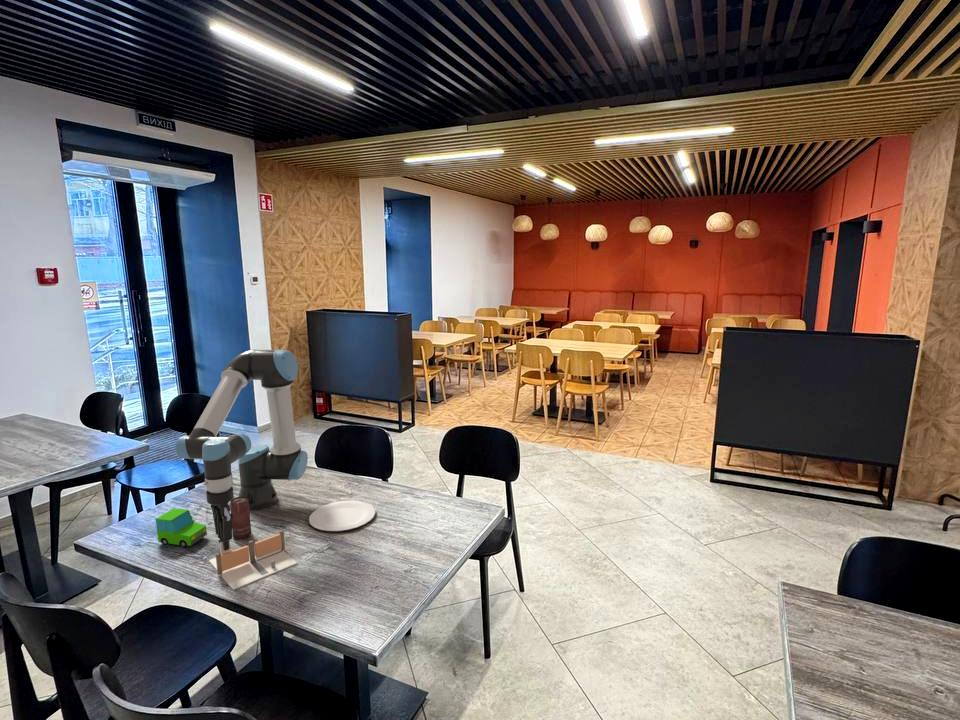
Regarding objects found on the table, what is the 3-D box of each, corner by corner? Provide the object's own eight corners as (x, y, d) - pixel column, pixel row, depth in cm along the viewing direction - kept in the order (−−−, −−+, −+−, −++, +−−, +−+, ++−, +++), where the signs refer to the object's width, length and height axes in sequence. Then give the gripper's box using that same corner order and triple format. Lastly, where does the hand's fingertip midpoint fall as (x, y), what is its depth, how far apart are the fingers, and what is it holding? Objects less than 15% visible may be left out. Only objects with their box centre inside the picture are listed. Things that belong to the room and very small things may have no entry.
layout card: (269, 539, 183) (268, 532, 182) (297, 563, 167) (296, 557, 167) (208, 561, 169) (208, 554, 168) (233, 590, 153) (232, 583, 153)
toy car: (189, 551, 175) (186, 523, 173) (156, 546, 178) (153, 520, 176) (210, 536, 185) (208, 510, 183) (179, 532, 188) (176, 506, 186)
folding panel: (248, 561, 167) (246, 542, 166) (249, 563, 166) (248, 544, 165) (216, 573, 161) (215, 554, 160) (218, 575, 160) (216, 555, 159)
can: (233, 542, 180) (230, 505, 178) (232, 534, 186) (229, 498, 184) (252, 538, 183) (249, 501, 181) (250, 530, 189) (247, 494, 186)
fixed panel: (283, 548, 176) (282, 529, 175) (285, 549, 175) (284, 530, 174) (249, 561, 168) (247, 541, 167) (251, 563, 167) (249, 543, 166)
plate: (294, 527, 192) (294, 523, 191) (336, 499, 215) (336, 496, 214) (350, 540, 182) (349, 535, 182) (387, 510, 205) (387, 506, 205)
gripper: (199, 485, 162) (206, 554, 166) (213, 498, 153) (220, 570, 157) (224, 479, 167) (230, 545, 171) (239, 491, 158) (245, 561, 162)
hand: (225, 557), depth 164 cm, fingers closed
